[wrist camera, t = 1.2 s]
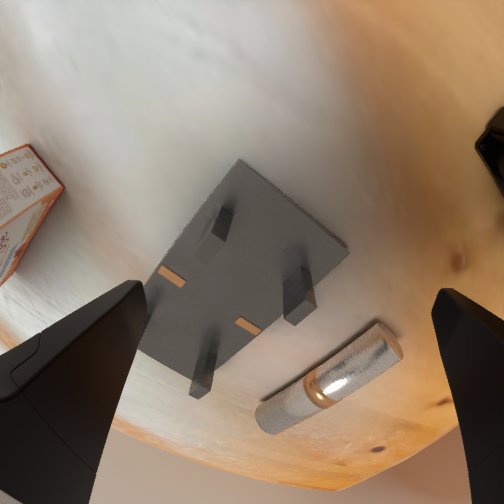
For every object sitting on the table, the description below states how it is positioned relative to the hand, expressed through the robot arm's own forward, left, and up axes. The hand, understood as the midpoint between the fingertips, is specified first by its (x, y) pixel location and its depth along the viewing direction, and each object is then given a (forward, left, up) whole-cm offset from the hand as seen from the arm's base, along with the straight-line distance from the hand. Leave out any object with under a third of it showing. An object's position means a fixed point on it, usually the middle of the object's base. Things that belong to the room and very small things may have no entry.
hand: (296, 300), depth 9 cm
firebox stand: (-2, +11, -13) cm, 17 cm away
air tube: (-16, +12, -13) cm, 24 cm away
